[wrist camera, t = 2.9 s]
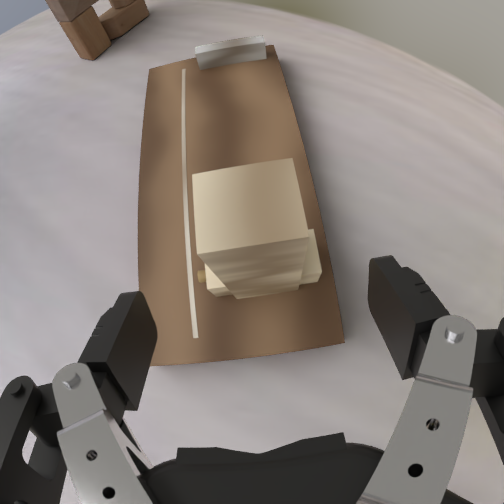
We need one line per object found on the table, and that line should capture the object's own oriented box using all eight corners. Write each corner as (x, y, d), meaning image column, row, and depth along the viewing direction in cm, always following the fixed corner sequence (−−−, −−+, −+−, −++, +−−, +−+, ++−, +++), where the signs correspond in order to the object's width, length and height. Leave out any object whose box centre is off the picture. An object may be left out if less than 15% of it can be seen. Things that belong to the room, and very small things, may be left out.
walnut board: (156, 365, 20) (130, 367, 16) (155, 82, 28) (142, 54, 24) (338, 343, 19) (351, 341, 16) (274, 59, 27) (272, 28, 24)
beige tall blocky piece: (203, 303, 19) (140, 262, 10) (199, 255, 20) (140, 185, 11) (318, 286, 19) (346, 231, 10) (309, 238, 19) (325, 153, 11)
